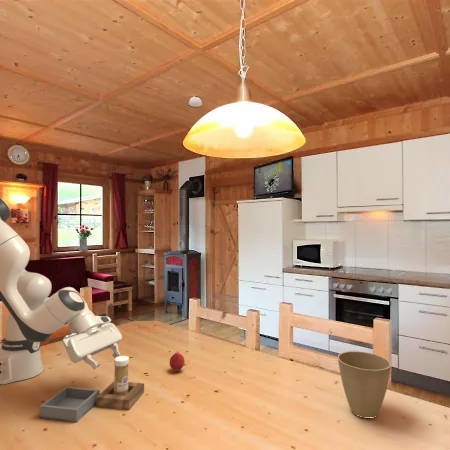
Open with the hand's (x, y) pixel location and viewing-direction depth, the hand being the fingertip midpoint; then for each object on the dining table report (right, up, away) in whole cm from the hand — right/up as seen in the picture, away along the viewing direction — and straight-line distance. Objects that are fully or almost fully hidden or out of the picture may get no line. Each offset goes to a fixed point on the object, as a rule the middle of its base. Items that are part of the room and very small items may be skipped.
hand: (107, 361), depth 107 cm
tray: (-9, -12, -7) cm, 16 cm away
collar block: (+5, -12, -1) cm, 13 cm away
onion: (+20, -12, +20) cm, 30 cm away
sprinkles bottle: (+5, -12, -1) cm, 13 cm away
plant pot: (+81, -12, -8) cm, 83 cm away
